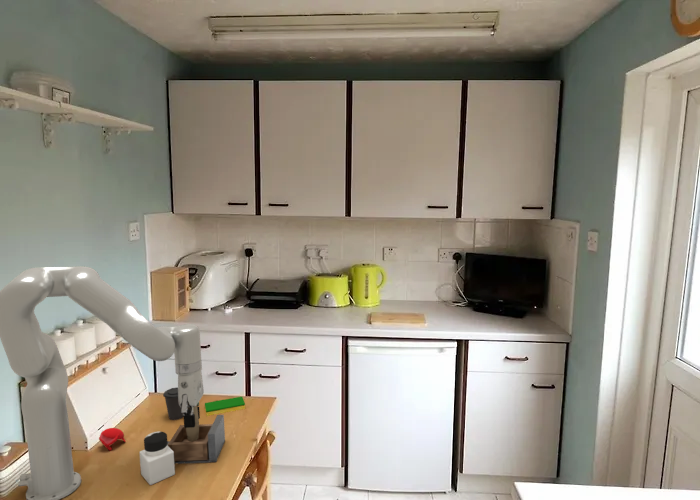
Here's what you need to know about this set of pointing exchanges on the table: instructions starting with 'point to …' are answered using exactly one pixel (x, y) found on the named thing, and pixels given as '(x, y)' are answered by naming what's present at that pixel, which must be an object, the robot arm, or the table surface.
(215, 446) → the track
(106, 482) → the table surface
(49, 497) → the robot arm
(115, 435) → the red curved legged piece
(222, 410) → the dish sponge
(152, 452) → the medicine bottle
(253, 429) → the table surface
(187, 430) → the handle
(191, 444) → the open wooden box
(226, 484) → the table surface
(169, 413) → the coffee cup
